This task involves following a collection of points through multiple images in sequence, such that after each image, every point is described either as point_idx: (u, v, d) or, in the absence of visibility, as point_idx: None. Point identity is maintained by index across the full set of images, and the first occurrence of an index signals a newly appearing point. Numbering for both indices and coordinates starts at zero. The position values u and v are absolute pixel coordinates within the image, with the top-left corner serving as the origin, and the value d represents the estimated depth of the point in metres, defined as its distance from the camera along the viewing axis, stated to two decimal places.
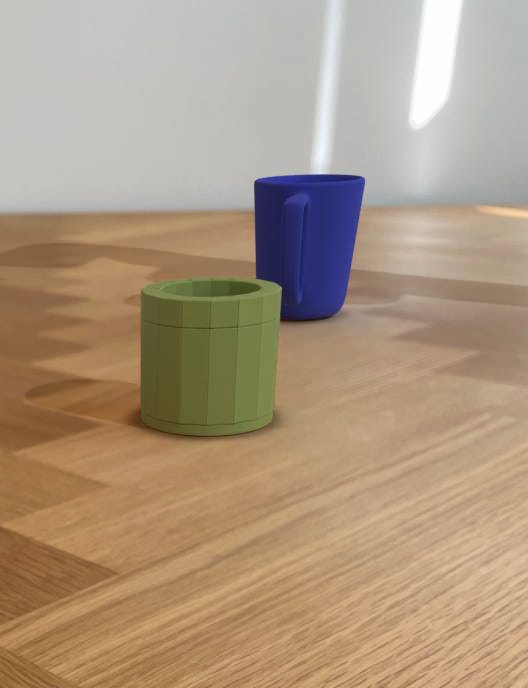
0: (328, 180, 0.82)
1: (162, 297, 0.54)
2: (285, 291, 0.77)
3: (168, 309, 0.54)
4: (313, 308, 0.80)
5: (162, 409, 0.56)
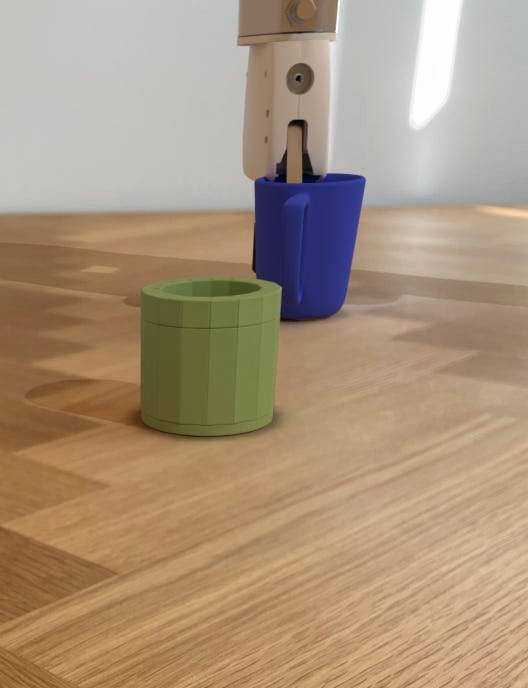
0: (329, 179, 0.82)
1: (162, 297, 0.54)
2: (285, 292, 0.77)
3: (168, 309, 0.54)
4: (313, 308, 0.80)
5: (162, 409, 0.56)
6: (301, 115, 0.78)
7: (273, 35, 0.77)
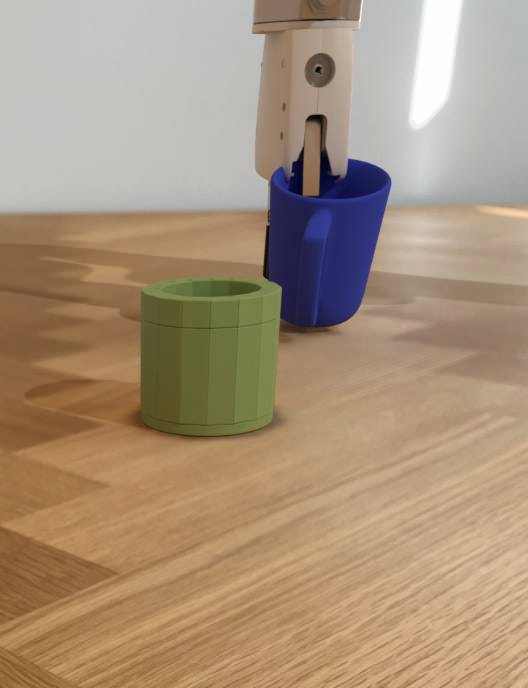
0: (350, 166, 0.75)
1: (162, 297, 0.54)
2: (301, 318, 0.73)
3: (168, 309, 0.54)
4: (328, 320, 0.76)
5: (162, 409, 0.56)
6: (320, 110, 0.72)
7: (292, 22, 0.71)
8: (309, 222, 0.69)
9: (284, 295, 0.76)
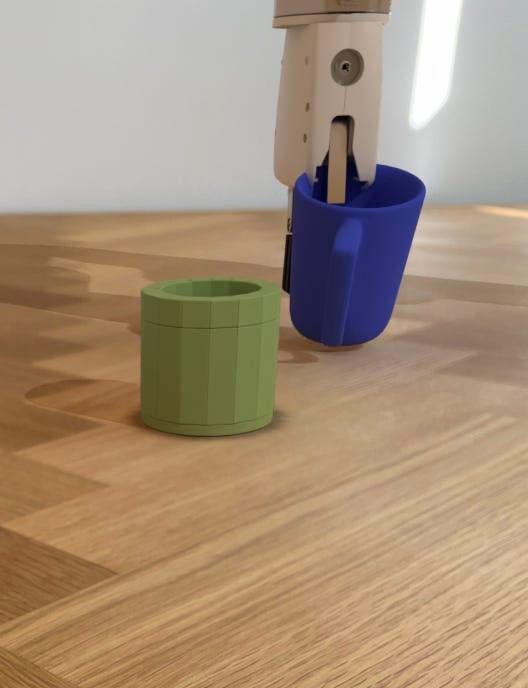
0: (380, 172, 0.69)
1: (162, 297, 0.54)
2: (327, 337, 0.67)
3: (168, 309, 0.54)
4: (355, 338, 0.71)
5: (162, 409, 0.56)
6: (347, 110, 0.67)
7: (317, 15, 0.66)
8: (338, 233, 0.64)
9: (307, 311, 0.71)
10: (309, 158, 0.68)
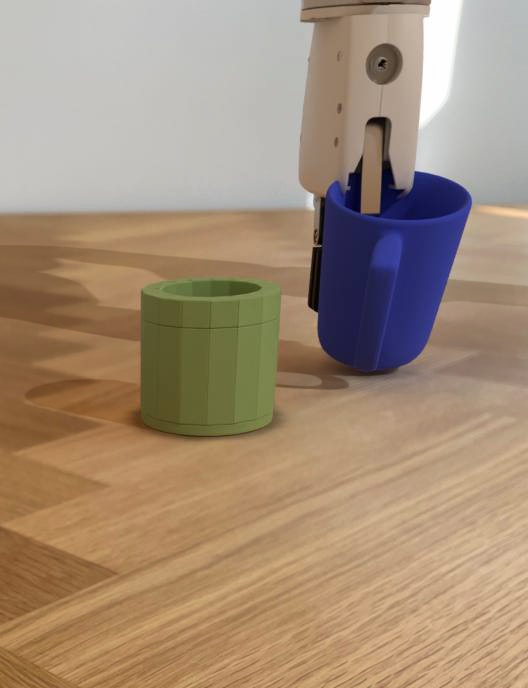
0: (419, 181, 0.63)
1: (162, 297, 0.54)
2: (361, 361, 0.61)
3: (168, 309, 0.54)
4: (390, 361, 0.65)
5: (162, 409, 0.56)
6: (383, 111, 0.61)
7: (350, 7, 0.60)
8: (376, 247, 0.58)
9: (338, 332, 0.64)
10: (341, 164, 0.62)
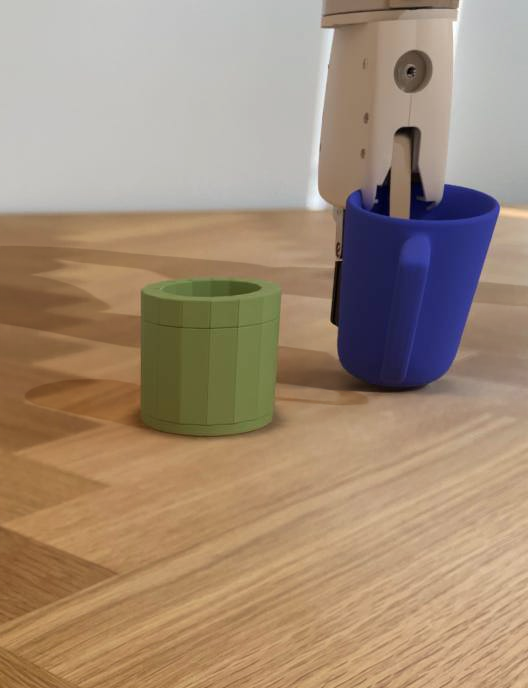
0: None
1: (162, 297, 0.54)
2: (389, 370, 0.57)
3: (168, 309, 0.54)
4: (417, 376, 0.61)
5: (162, 409, 0.56)
6: (413, 121, 0.58)
7: (376, 12, 0.57)
8: (404, 246, 0.54)
9: (361, 346, 0.61)
10: (368, 176, 0.59)
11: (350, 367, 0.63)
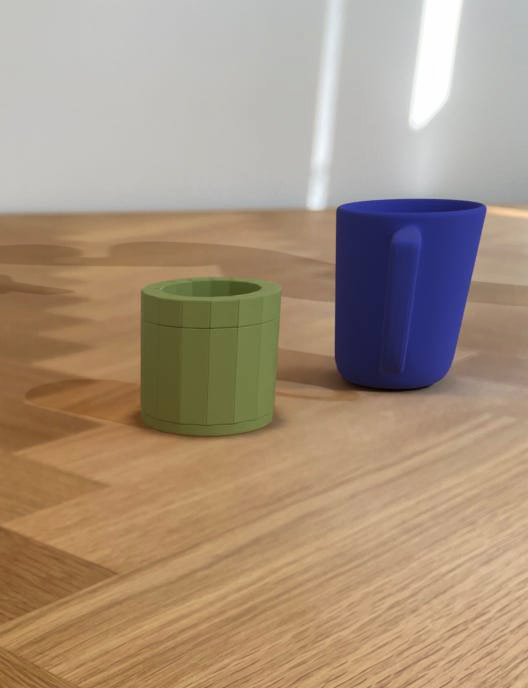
0: (428, 206, 0.63)
1: (162, 297, 0.54)
2: (388, 357, 0.57)
3: (168, 309, 0.54)
4: (416, 375, 0.61)
5: (162, 409, 0.56)
6: None
7: None
8: (395, 233, 0.56)
9: (358, 347, 0.61)
10: None
11: (348, 372, 0.63)
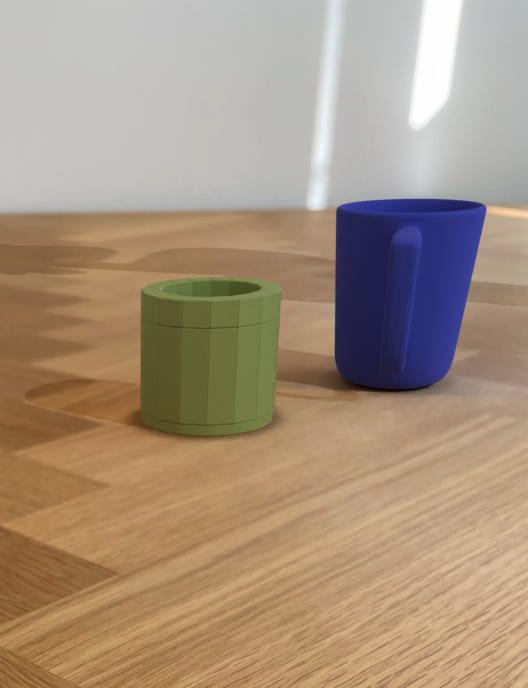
0: (428, 206, 0.63)
1: (162, 297, 0.54)
2: (388, 357, 0.57)
3: (168, 309, 0.54)
4: (416, 375, 0.61)
5: (162, 409, 0.56)
6: None
7: None
8: (395, 233, 0.56)
9: (358, 347, 0.61)
10: None
11: (348, 372, 0.63)
